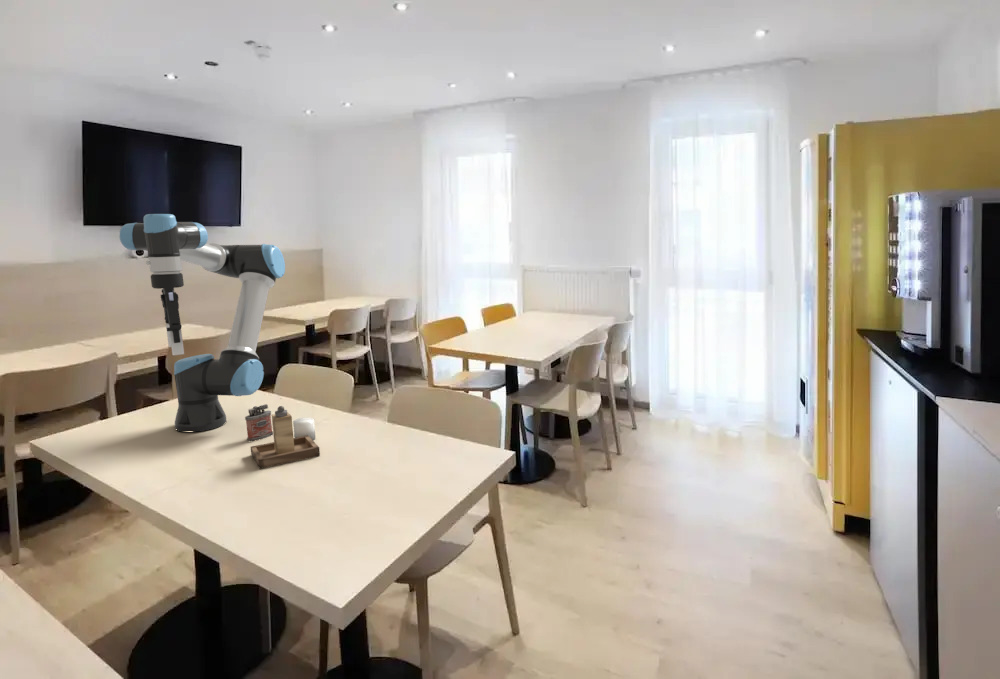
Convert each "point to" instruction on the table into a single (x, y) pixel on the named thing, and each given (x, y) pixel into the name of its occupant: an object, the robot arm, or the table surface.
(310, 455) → the tray
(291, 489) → the table surface
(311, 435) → the white pillar candle
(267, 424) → the lighter
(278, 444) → the pepper mill
